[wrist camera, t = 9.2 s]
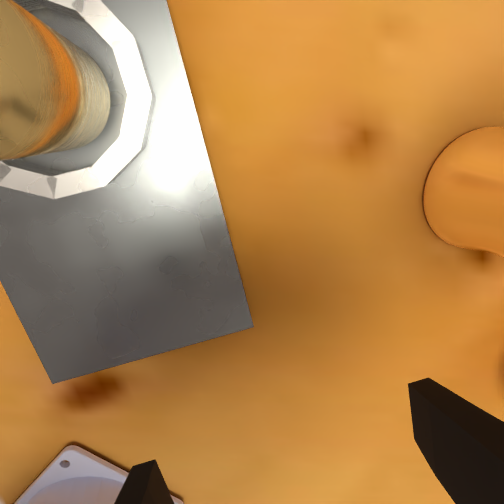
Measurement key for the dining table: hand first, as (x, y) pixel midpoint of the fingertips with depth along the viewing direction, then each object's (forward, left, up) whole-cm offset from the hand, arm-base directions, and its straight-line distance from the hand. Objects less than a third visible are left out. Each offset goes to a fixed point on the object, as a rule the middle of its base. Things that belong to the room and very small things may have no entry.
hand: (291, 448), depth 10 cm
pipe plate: (0, +10, -9) cm, 13 cm away
